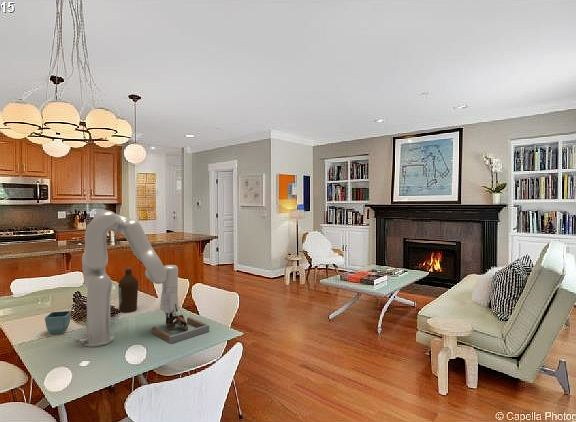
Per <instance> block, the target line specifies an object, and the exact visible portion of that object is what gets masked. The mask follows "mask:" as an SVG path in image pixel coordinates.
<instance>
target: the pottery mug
mask: <svg viewBox="0 0 576 422" xmlns="http://www.w3.org/2000/svg"><path fill="white" fill-rule="evenodd" d="M172 321H173V323H171V322H172ZM170 323H171V324H170ZM165 326H166V330H168V331H170V330H172V329H176V326H181V327H182V326H183V327H184V330H185V331H189V330H188V329H189V328H188V324H187V320H186V319H185V317H184V315H183V314H180V315H178V314H176V315H175V316H174V317H172V318H171V319H169V320H168V322H167V323H166V322H165Z"/></svg>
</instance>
